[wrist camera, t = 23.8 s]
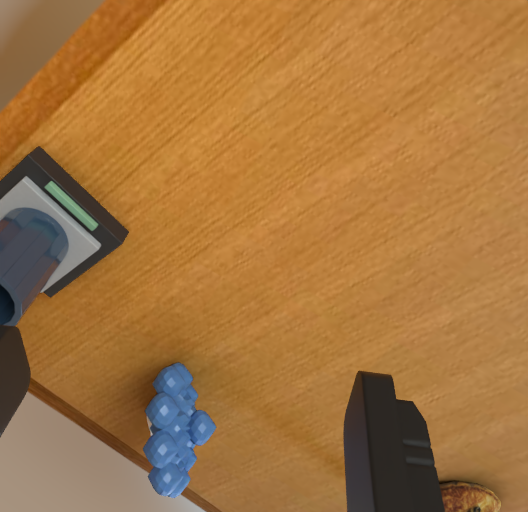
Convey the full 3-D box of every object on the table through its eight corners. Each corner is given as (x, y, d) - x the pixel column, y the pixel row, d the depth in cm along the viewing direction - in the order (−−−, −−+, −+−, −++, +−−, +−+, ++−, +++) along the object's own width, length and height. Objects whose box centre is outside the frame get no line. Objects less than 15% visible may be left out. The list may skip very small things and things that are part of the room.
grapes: (231, 417, 57) (216, 521, 47) (173, 418, 58) (147, 521, 48) (216, 342, 51) (195, 443, 41) (151, 344, 51) (115, 444, 41)
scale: (39, 145, 40) (22, 158, 38) (129, 231, 44) (119, 248, 42) (-30, 211, 44) (-49, 226, 42) (59, 285, 48) (46, 303, 46)
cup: (33, 195, 39) (-26, 252, 32) (83, 249, 42) (38, 313, 35) (-15, 226, 41) (-81, 287, 34) (35, 276, 44) (-17, 342, 37)
